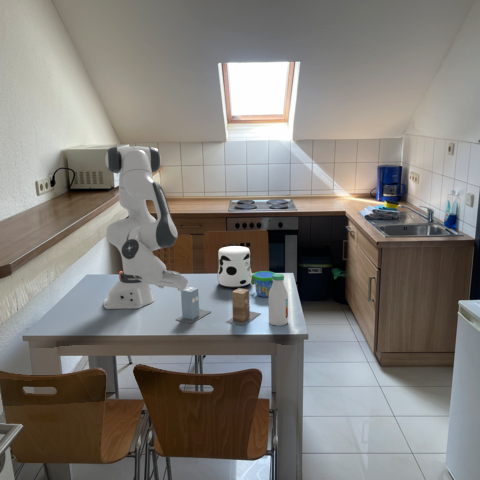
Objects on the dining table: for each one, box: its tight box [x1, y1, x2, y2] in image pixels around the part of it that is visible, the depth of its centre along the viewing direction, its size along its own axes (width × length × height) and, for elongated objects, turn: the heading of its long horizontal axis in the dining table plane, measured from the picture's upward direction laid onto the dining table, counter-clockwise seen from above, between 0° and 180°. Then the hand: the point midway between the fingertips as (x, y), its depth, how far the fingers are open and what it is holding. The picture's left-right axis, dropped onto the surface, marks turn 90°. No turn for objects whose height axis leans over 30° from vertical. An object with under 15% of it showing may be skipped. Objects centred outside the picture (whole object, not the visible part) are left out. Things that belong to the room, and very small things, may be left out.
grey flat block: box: [175, 308, 212, 325], centre depth 198 cm, size 14×8×1 cm, turn 148°
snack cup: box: [250, 270, 276, 298], centre depth 220 cm, size 16×10×10 cm
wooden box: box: [231, 287, 251, 322], centre depth 192 cm, size 5×5×12 cm
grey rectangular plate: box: [225, 310, 261, 327], centre depth 195 cm, size 14×8×1 cm, turn 148°
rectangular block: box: [180, 286, 200, 320], centre depth 195 cm, size 5×5×12 cm
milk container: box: [216, 245, 253, 289], centre depth 234 cm, size 17×17×18 cm
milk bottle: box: [268, 273, 289, 327], centre depth 188 cm, size 8×8×20 cm
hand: (172, 288), depth 183 cm, fingers open, 8 cm apart
